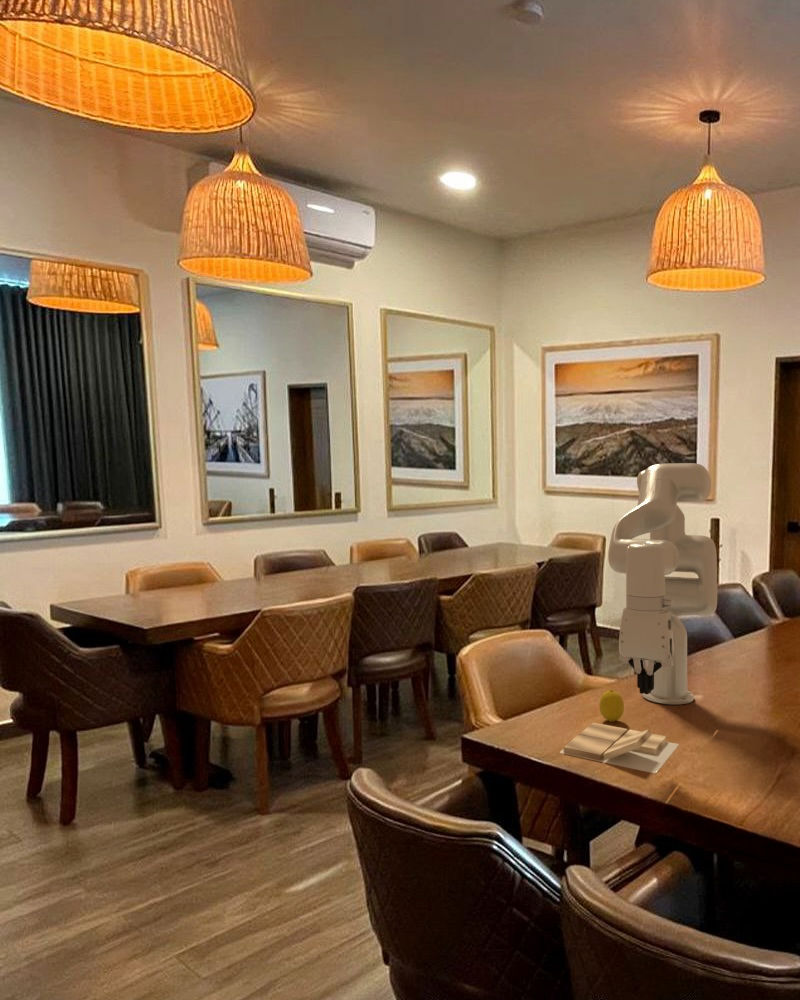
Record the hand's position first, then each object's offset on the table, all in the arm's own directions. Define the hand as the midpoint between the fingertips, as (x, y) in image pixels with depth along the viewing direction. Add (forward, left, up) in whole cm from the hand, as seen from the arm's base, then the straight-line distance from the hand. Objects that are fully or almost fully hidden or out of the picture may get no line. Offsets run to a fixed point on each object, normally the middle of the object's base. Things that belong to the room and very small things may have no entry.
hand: (645, 692), depth 150 cm
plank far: (-7, -3, -14) cm, 15 cm away
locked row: (-2, -11, -14) cm, 18 cm away
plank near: (+2, -3, -11) cm, 12 cm away
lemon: (-18, -13, -14) cm, 26 cm away
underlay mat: (-2, -6, -14) cm, 15 cm away
